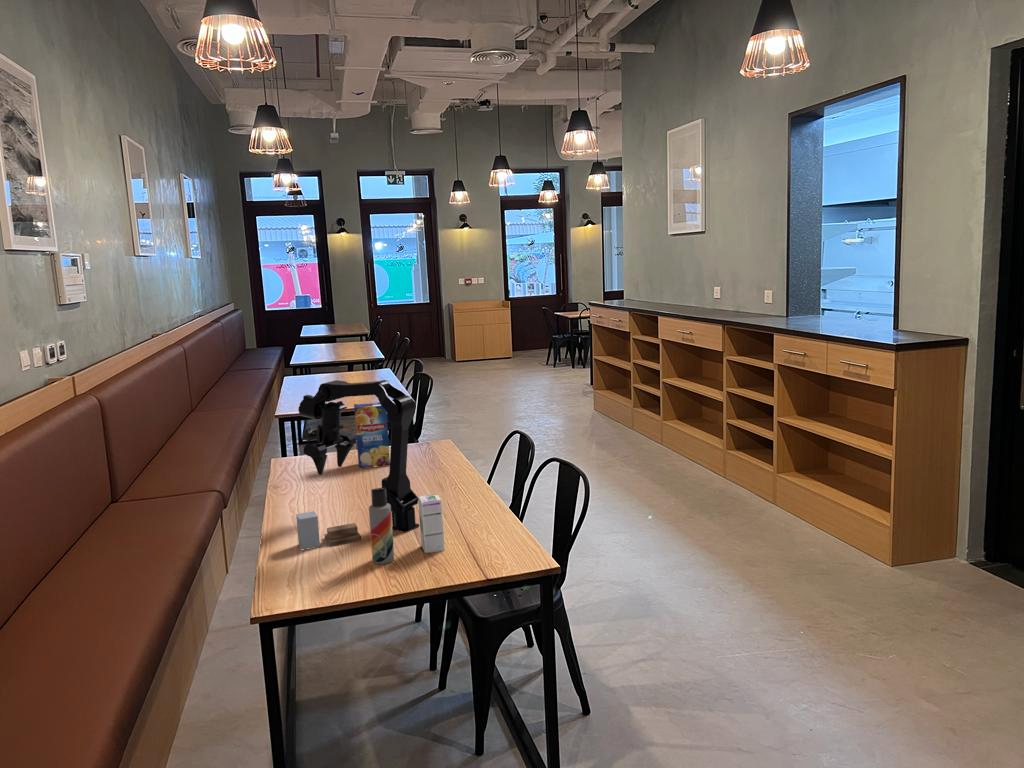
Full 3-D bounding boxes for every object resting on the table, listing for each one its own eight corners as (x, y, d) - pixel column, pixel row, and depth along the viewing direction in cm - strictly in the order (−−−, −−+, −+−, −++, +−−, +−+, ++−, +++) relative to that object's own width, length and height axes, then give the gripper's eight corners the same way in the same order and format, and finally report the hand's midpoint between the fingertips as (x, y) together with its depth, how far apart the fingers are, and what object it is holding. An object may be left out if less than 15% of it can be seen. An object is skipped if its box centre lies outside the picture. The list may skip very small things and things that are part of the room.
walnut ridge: (355, 532, 219) (354, 520, 219) (361, 540, 213) (360, 528, 212) (324, 538, 215) (323, 526, 215) (329, 546, 209) (328, 534, 209)
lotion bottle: (375, 566, 194) (370, 492, 191) (370, 558, 199) (365, 486, 196) (396, 562, 196) (391, 489, 193) (391, 554, 202) (386, 483, 198)
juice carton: (358, 468, 287) (354, 407, 283) (358, 463, 294) (353, 404, 290) (390, 465, 290) (386, 405, 286) (388, 460, 297) (384, 401, 293)
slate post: (316, 541, 214) (314, 511, 212) (320, 546, 209) (317, 516, 208) (298, 544, 211) (296, 514, 210) (301, 550, 207) (299, 519, 206)
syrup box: (445, 550, 203) (442, 499, 201) (423, 553, 201) (420, 502, 199) (441, 543, 208) (438, 493, 206) (420, 546, 207) (417, 496, 204)
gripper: (329, 411, 239) (328, 458, 242) (288, 423, 222) (288, 473, 225) (357, 417, 234) (356, 464, 237) (318, 430, 218) (318, 481, 221)
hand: (330, 470), depth 230 cm, fingers open, 9 cm apart
